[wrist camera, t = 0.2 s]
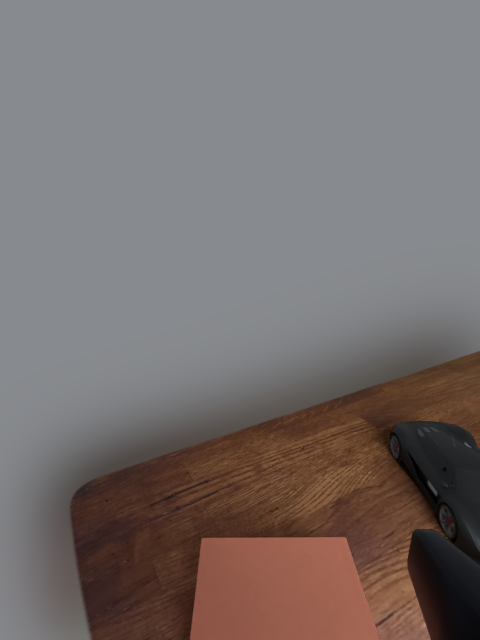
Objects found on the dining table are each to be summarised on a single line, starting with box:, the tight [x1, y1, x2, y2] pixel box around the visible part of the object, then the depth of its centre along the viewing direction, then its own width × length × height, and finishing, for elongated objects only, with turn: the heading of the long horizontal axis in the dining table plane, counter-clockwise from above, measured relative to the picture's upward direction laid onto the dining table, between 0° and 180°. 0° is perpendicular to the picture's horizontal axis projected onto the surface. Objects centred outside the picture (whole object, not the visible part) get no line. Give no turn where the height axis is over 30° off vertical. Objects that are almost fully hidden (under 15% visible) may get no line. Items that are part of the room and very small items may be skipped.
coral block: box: [190, 537, 380, 640], centre depth 20 cm, size 9×6×4 cm, turn 90°
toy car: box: [390, 421, 480, 565], centre depth 30 cm, size 7×15×4 cm, turn 1°
